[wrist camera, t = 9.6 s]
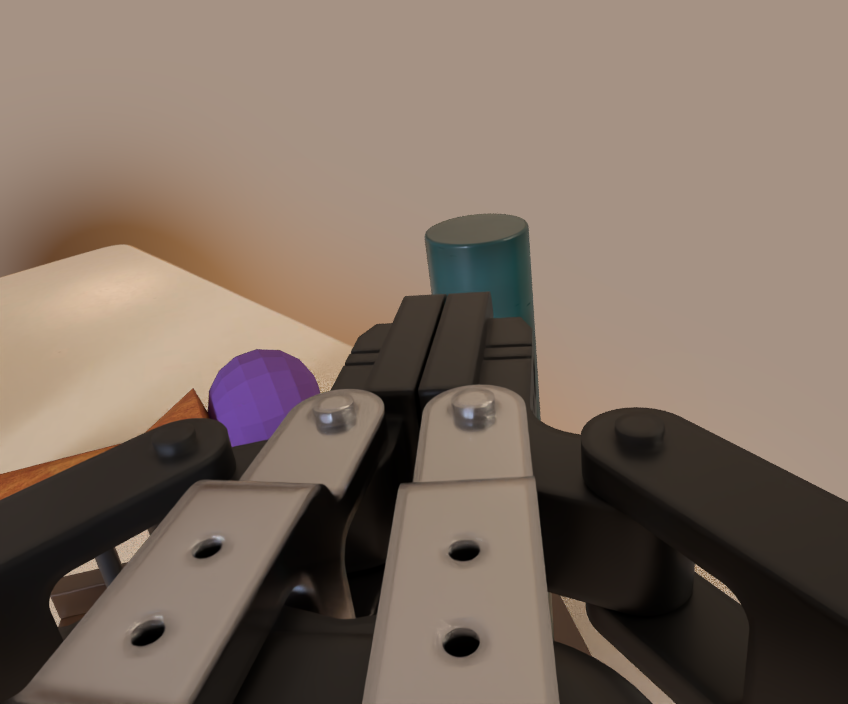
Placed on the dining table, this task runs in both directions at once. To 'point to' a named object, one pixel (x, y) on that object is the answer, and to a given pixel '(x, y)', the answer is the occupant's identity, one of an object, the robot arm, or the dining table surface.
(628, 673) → the dining table surface
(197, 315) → the dining table surface
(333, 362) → the dining table surface
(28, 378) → the dining table surface
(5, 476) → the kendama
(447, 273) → the dish rack
